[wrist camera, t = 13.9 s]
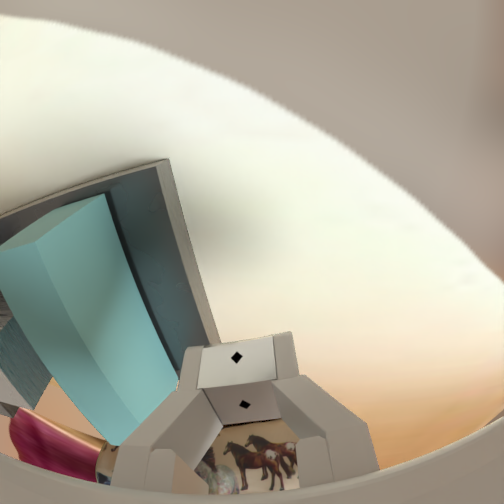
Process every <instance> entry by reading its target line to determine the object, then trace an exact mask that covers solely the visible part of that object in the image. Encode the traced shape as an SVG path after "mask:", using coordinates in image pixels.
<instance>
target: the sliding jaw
mask: <svg viewBox="0 0 504 504" xmlns="http://www.w3.org/2000/svg"><path fill="white" fill-rule="evenodd" d="M0 290H1V292H2V294H3V296H4V298H5V300H6V302H7V304H8V306H9V308H10V309H11V311H12V313H13V315H14V317H15V318H16V320H17V322H18V324H19V325H20V327H21V329H22V331H23V332H24V334H25V336H26V337H27V339H28V340H29V342H30V344H31V345H32V347H33V348H34V350H35V351H36V353H37V354H38V356H39V357H40V359H41V360H42V362H43V363H44V365H45V366H46V368H47V369H48V370H49V372H50V373H51V375H52V376H53V377H54V379H55V380H56V381H57V383H58V384H59V385H60V387H61V388H62V389H63V391H64V392H65V393H66V394H67V396H68V397H69V398H70V399H71V401H72V402H73V403H74V404H75V405H76V407H77V408H78V409H79V410H80V411H81V413H82V414H83V415H84V416H85V417H86V418H87V420H88V421H89V422H90V423H91V424H92V425H93V426H94V427H95V428H96V430H97V431H98V432H99V433H100V434H101V435H102V436H103V437H104V438H105V439H106V440H107V441H108V442H109V443H110V444H111V445H116V446H120V444H121V443H122V442H123V441H124V440H125V439H126V438H127V437H128V436H129V435H130V434H131V433H132V432H133V431H134V430H135V429H136V428H137V427H138V426H139V425H140V424H141V423H142V422H143V421H144V420H145V419H146V418H147V417H148V416H149V415H150V414H151V413H152V412H153V411H154V410H155V409H156V408H157V407H158V406H159V405H160V404H161V403H162V402H163V401H164V400H165V399H166V398H167V397H168V395H169V394H170V393H171V392H172V391H175V390H176V386H177V382H178V376H177V374H176V372H175V370H174V368H173V366H172V364H171V362H170V360H169V358H168V356H167V354H166V352H165V350H164V348H163V346H162V343H161V341H160V339H159V337H158V335H157V333H156V330H155V328H154V326H153V324H152V321H151V319H150V317H149V315H148V312H147V310H146V308H145V305H144V303H143V301H142V298H141V296H140V293H139V291H138V288H137V286H136V283H135V281H134V278H133V276H132V273H131V271H130V268H129V265H128V263H127V260H126V257H125V254H124V252H123V249H122V246H121V243H120V240H119V238H118V235H117V232H116V229H115V226H114V223H113V220H112V217H111V213H110V210H109V207H108V204H107V201H106V197H105V194H101V195H97V196H94V197H91V198H87V199H84V200H81V201H78V202H74V203H71V204H68V205H65V206H62V207H59V208H56V209H54V210H52V211H51V212H49V213H47V214H46V215H44V216H43V217H41V218H40V219H38V220H37V221H35V222H34V223H32V224H31V225H29V226H28V227H26V228H25V229H23V230H22V231H20V232H19V233H17V234H16V235H14V236H13V237H12V238H10V239H9V240H7V241H6V242H5V243H3V244H2V245H1V246H0Z"/></svg>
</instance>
